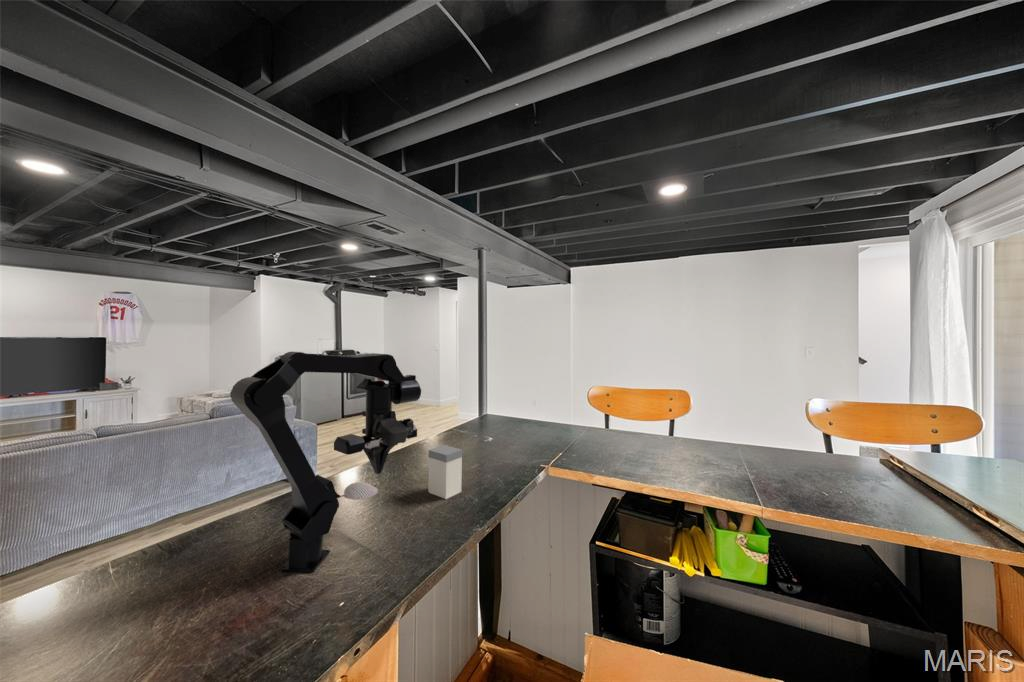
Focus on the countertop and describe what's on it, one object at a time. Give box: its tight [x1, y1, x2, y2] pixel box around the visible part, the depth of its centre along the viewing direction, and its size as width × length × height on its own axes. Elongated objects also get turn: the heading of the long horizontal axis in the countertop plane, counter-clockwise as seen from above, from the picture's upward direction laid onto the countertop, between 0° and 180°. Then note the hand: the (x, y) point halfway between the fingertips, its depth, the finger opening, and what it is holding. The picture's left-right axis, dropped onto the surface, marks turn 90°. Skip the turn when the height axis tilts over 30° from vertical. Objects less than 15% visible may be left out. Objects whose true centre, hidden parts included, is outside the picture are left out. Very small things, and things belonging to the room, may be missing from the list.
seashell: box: [343, 481, 379, 501], centre depth 102 cm, size 10×6×10 cm
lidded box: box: [428, 444, 463, 500], centre depth 103 cm, size 6×7×12 cm
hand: (378, 473), depth 86 cm, fingers closed
